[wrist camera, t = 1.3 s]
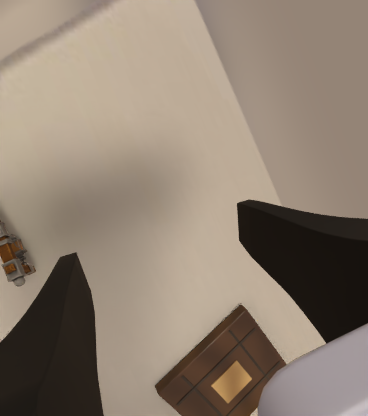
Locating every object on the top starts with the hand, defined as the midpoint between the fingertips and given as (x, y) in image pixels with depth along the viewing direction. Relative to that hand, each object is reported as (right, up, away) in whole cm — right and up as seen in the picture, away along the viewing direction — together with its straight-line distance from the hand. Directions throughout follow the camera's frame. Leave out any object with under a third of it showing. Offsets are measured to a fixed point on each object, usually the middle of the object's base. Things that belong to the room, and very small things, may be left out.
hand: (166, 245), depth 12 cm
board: (+6, -19, +22) cm, 30 cm away
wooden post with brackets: (-13, 0, +11) cm, 17 cm away
